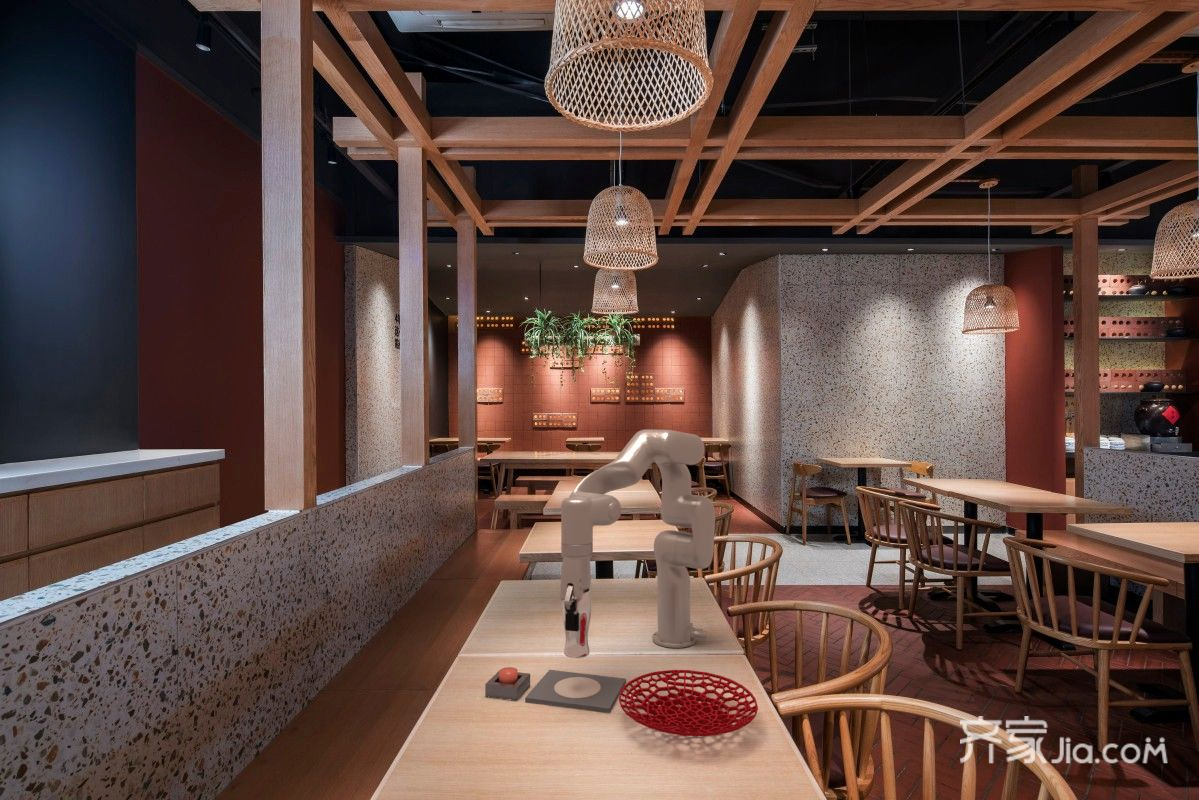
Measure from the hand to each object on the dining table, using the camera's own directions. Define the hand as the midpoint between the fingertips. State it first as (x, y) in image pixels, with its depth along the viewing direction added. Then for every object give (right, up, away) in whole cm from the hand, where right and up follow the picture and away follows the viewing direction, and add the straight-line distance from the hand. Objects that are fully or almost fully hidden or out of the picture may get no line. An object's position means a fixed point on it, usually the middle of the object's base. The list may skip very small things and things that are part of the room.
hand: (577, 624), depth 148 cm
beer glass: (0, -7, 0) cm, 7 cm away
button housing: (-16, -16, 0) cm, 23 cm away
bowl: (+24, -16, -14) cm, 32 cm away
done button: (-16, -14, 0) cm, 22 cm away
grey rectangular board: (0, -16, 0) cm, 16 cm away
